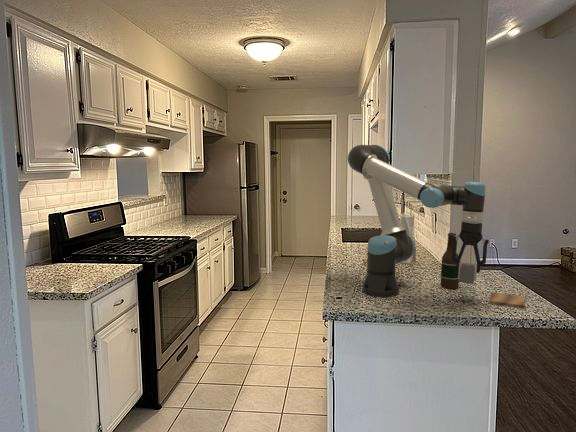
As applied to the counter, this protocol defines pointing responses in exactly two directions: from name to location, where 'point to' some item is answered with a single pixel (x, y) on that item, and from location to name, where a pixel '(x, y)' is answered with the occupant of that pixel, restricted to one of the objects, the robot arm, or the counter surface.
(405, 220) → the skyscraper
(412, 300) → the counter surface
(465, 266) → the plug
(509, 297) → the walnut board
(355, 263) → the counter surface
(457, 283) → the beer bottle
